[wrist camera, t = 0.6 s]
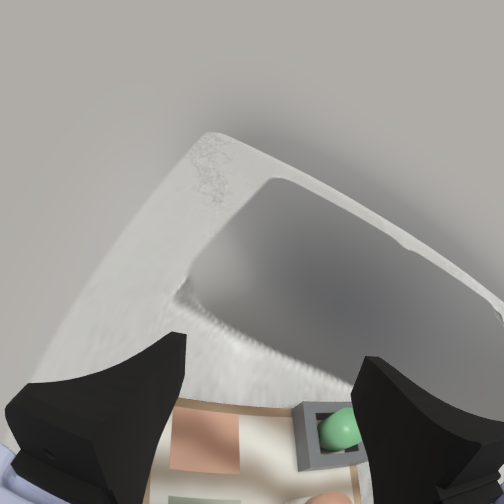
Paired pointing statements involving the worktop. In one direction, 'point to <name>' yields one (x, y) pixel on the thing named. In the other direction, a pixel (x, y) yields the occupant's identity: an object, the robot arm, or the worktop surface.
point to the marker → (322, 499)
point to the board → (236, 459)
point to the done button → (339, 431)
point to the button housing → (309, 439)
